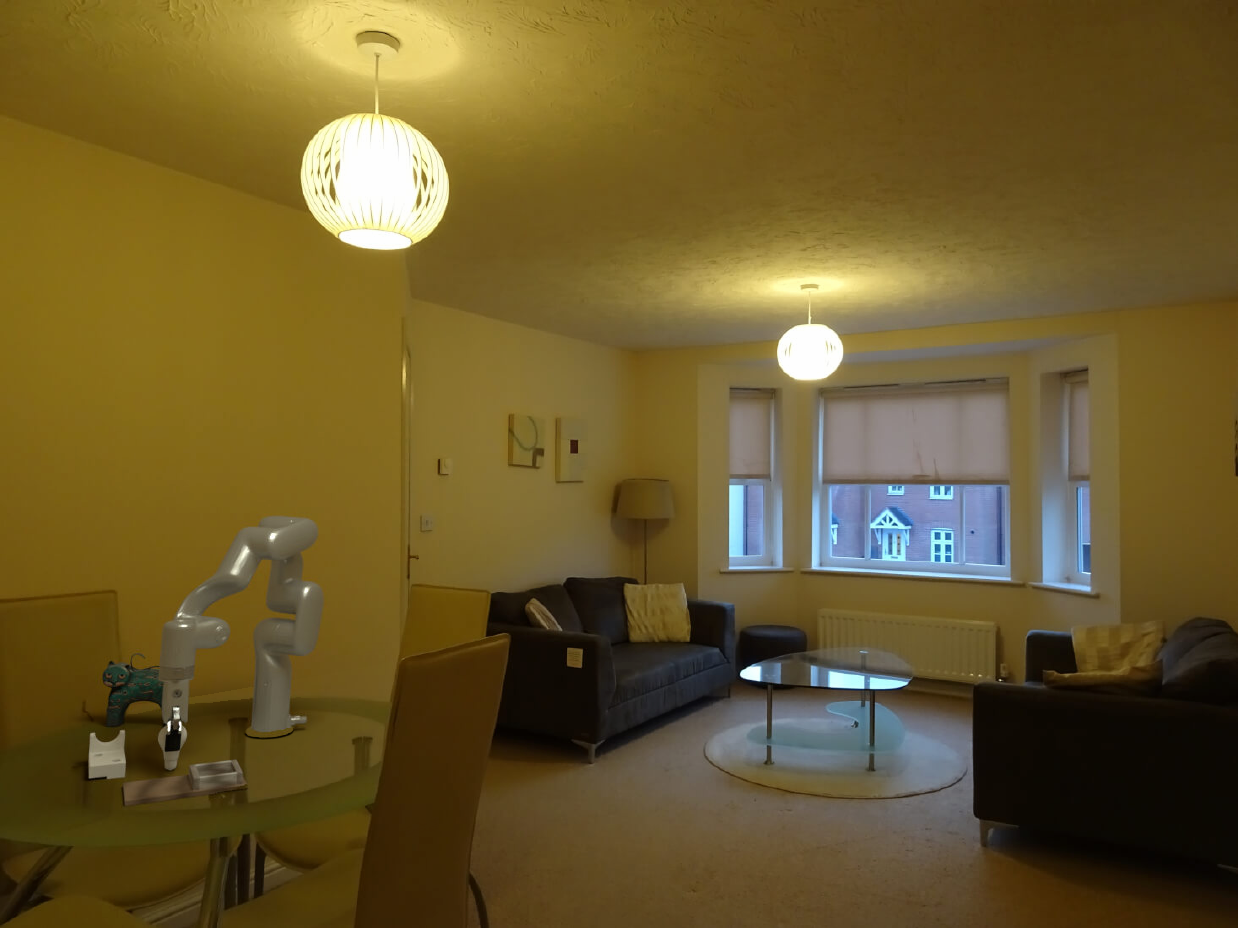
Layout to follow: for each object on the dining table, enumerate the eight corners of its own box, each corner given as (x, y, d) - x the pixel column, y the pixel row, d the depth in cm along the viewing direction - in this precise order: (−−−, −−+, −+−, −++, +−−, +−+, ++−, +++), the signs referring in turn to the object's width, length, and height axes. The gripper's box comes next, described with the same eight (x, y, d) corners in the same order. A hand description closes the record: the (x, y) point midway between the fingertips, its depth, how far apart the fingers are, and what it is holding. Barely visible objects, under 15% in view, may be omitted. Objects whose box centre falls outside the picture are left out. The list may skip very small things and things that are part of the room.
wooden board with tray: (239, 772, 199) (240, 757, 199) (247, 789, 189) (248, 773, 189) (122, 787, 186) (124, 771, 186) (124, 805, 176) (126, 789, 176)
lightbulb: (172, 775, 195) (175, 728, 195) (149, 772, 196) (152, 725, 196) (190, 767, 201) (193, 721, 201) (168, 764, 202) (171, 718, 202)
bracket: (88, 764, 200) (90, 733, 200) (122, 760, 203) (124, 729, 204) (88, 782, 189) (90, 748, 189) (124, 777, 193) (127, 745, 193)
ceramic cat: (97, 728, 227) (102, 654, 227) (108, 721, 233) (113, 649, 234) (175, 728, 230) (180, 656, 230) (183, 722, 236) (188, 651, 237)
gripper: (198, 679, 194) (191, 753, 193) (190, 664, 208) (184, 734, 207) (161, 681, 190) (154, 757, 189) (156, 666, 204) (150, 737, 203)
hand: (170, 745), depth 198 cm, fingers open, 9 cm apart
